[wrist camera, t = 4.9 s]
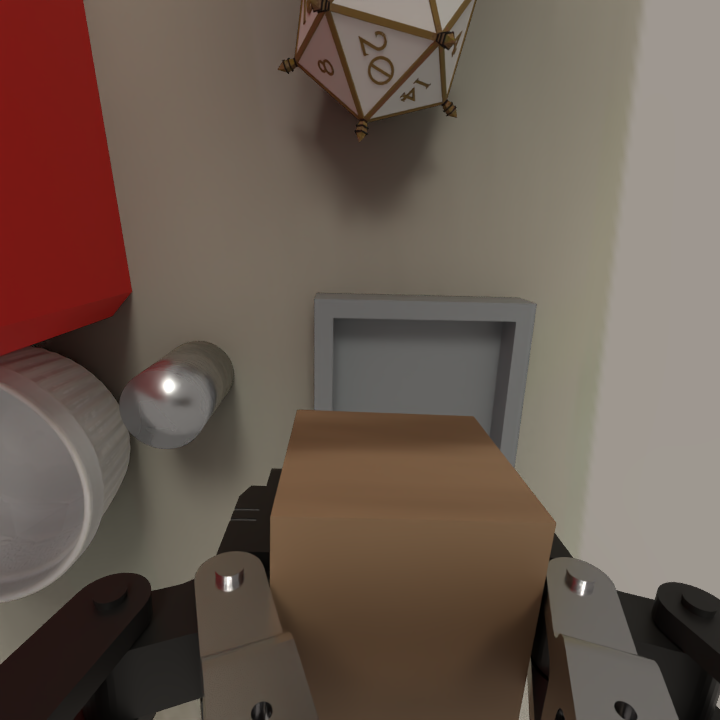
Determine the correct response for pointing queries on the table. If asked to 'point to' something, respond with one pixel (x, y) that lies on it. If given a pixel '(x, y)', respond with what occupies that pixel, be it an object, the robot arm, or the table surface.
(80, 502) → the ramekin
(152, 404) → the steel cylinder
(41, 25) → the book
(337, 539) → the walnut cube
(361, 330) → the charcoal tray
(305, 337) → the table surface
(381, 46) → the game die
